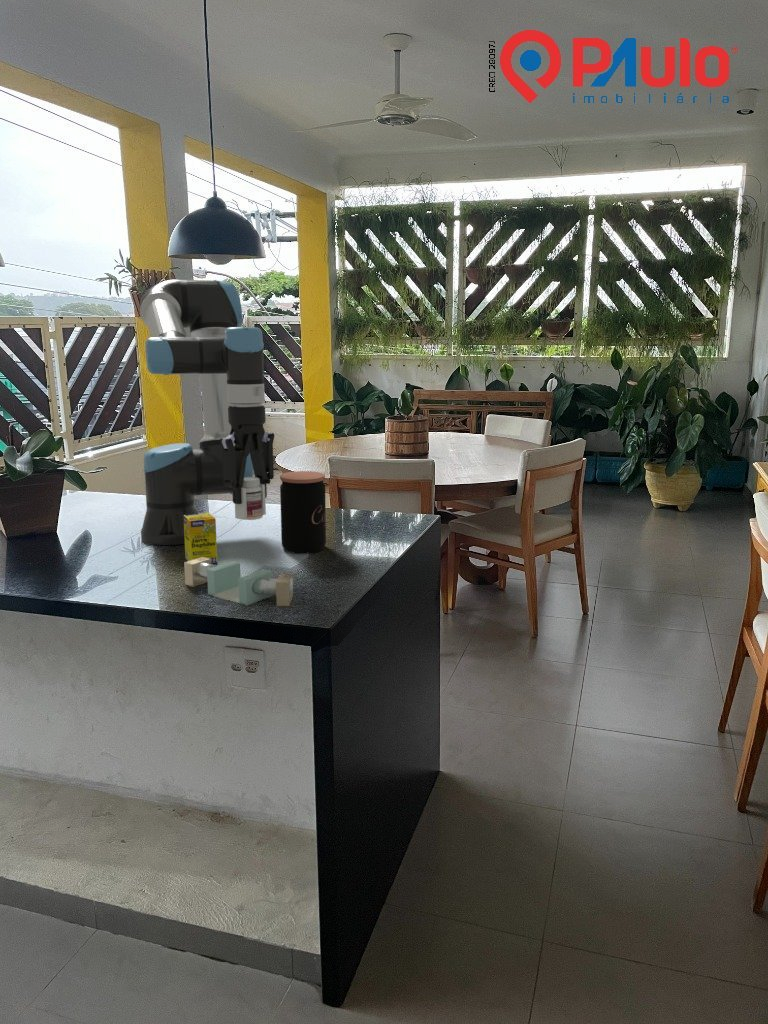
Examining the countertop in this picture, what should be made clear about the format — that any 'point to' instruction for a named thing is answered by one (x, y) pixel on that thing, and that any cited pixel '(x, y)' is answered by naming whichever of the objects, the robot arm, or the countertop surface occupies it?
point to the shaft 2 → (276, 588)
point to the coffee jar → (303, 511)
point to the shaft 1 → (197, 571)
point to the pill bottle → (253, 498)
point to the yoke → (235, 583)
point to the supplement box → (200, 537)
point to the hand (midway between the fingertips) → (250, 516)
